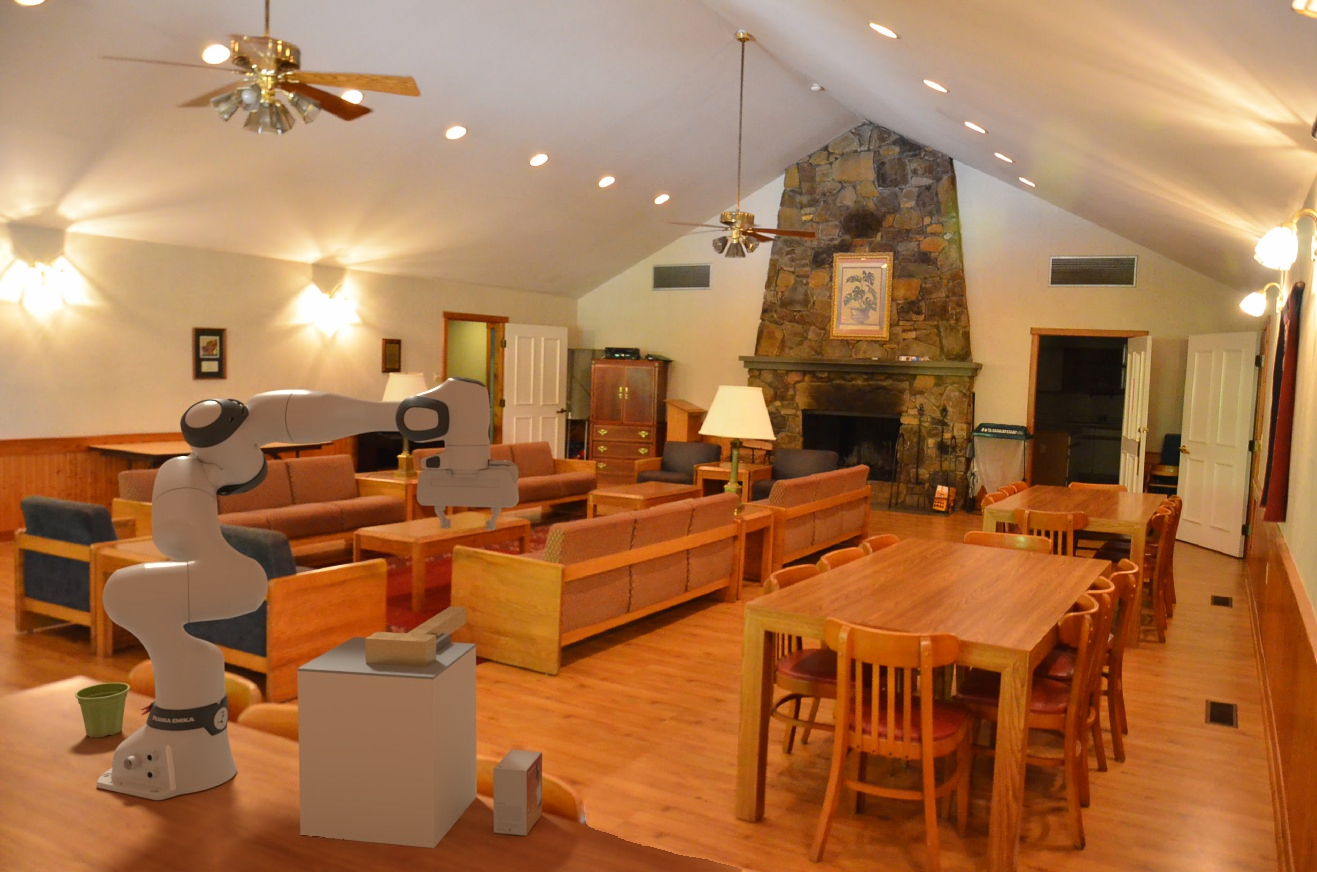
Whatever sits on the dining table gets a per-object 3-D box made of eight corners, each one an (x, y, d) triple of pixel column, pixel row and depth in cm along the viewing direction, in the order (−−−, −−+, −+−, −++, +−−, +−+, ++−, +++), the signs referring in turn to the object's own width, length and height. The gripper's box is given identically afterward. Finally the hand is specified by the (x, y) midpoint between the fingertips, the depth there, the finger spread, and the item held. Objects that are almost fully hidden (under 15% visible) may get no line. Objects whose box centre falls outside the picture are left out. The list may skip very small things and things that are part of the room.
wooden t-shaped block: (365, 663, 149) (365, 638, 149) (432, 621, 175) (431, 600, 174) (426, 667, 147) (425, 641, 147) (484, 624, 173) (484, 602, 173)
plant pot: (113, 741, 185) (112, 698, 185) (65, 741, 185) (64, 697, 185) (140, 724, 194) (139, 682, 194) (94, 723, 195) (93, 682, 194)
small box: (526, 837, 148) (526, 771, 147) (492, 833, 149) (492, 767, 149) (543, 813, 156) (543, 751, 155) (510, 810, 157) (510, 748, 156)
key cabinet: (300, 835, 148) (297, 658, 146) (356, 786, 166) (353, 628, 164) (434, 847, 144) (432, 666, 143) (476, 796, 162) (475, 634, 160)
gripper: (523, 459, 190) (523, 528, 190) (426, 457, 193) (426, 525, 194) (513, 461, 183) (513, 532, 184) (413, 459, 187) (413, 529, 188)
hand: (468, 529), depth 189 cm, fingers open, 8 cm apart
